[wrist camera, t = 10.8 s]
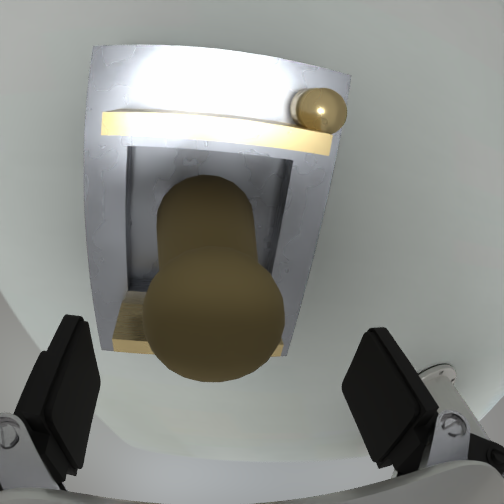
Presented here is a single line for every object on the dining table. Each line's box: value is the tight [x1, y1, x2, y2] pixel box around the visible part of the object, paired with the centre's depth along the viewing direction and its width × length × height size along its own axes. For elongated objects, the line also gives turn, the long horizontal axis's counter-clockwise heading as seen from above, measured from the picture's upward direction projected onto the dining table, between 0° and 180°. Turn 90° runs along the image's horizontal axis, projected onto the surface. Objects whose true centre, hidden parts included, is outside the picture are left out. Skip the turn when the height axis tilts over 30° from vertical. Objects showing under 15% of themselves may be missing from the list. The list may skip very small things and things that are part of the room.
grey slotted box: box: [84, 45, 351, 357], centre depth 20 cm, size 20×14×10 cm
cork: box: [142, 175, 285, 382], centre depth 15 cm, size 6×6×11 cm
